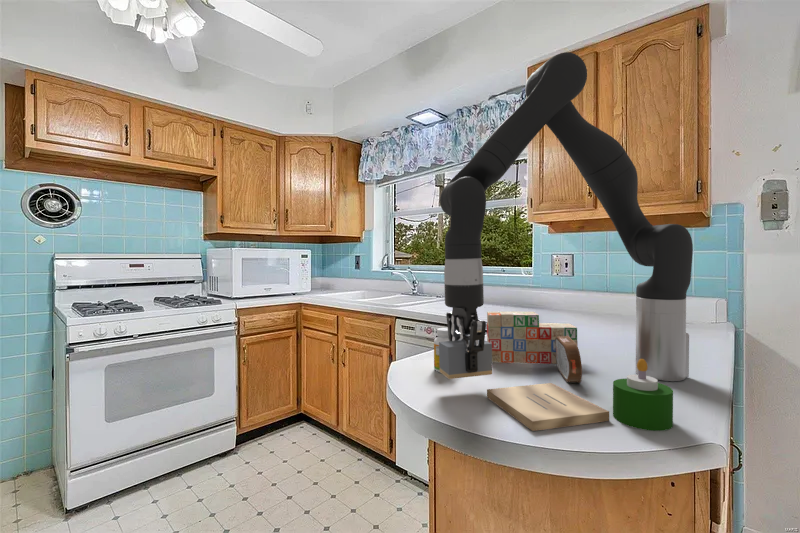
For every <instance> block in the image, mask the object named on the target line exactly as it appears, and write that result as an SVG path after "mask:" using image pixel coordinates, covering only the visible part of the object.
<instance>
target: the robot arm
mask: <svg viewBox="0 0 800 533" xmlns="http://www.w3.org/2000/svg"><path fill="white" fill-rule="evenodd" d="M587 80H588V69H587V65H586V63H585V61H584V60H583V58H581V56H579V55H578V54H576V53H573V52H571V51H570V52H568V51H567V52H565V51H564V52H560V53H557V54H555V55H554V56H552V57H551V58H549V59H548V60H546V61H545V62H544V63H543V64H542V65H540V66H539V67H538V68H537V69H536V70H534V72H532V73H531V75H529V77H528V78H527V80H526V83H525V89H524V90H525V96H526V99H524V101H523V102H522V103H521V104H519V106H518V107H517V108H516V109H515V110H514V111H513V112H512V114H510V115H509V116H508V117H507V118H506V119H505V120H504V121H503V122H502V123H501V124H500V125H499V126H498V127H497V128H496V129H495V130H494V131H493V132H492V133H491V134H490V135H489V137H488V138H487V139H486V140H485V141H484V143H483V144H482V145H481V146H480V147H479V148H478V150H477V151H476V152H475V154H474V155H473V157H472V158H471V159H470V160H469V162H468V163H467V164H466V165H465V166H464V167H463V168H462V169H461V170H459V172H457V173H456V174H455V176H454V177H453V178H452V179H450V181H449V182H448V183H447V184H446V185H445V187H444V188H443V190H442V192H441V194H440V197H439V205H440V207H441V210H442V211H443V212H444V213H445V214H446V215H447V216H450V219H449V220H450V223H449V224H450V225H449V228H448V230H447V232H446V234H445V237H444V257H445V260H444V262H445V263H444V267H443V268H444V271H443V272H444V273H443V275H444V276H443V278H444V279H443V280H444V282H443V283H444V304H445V306H447V307H448V308H451V309H452V311H449V312H446V313H445V318H446V325H447V327H446V328H448V336H449V341H457V340H462V341H463V342H464V346H465V352H466V353H465V364H466V371H467V372H468V373H472V372H477V370H478V360H477V353H478V352H479V351H483V350H484V340H485V341H486V339H485V338H486V330H487V322H486V320H480V319H479V315H478V311H477V309H478V308H481V307H483V306H484V300H485V299H484V298H485V297H484V267H483V261H482V260H483V259H482V239H481V237H482V236H481V235H482V231H483V228H484V221H485V215H486V208H487V196H486V191H487V190H488V188H490V187H491V186H492V185H494V184H496V183H497V182H498V181H500V179H502V178H503V176H504V175H505V174H506V172H508V171H509V169H510V168H511V166H512V165H513V164H514V163H515V161H516V160H517V159H518V158H519V157H520V155H521V154H522V153H523V151H524V150H525V149H526V148H527V146H528V145H530V143H531V142H532V141H533V140H534V138H535V137H536V136H537V135H538V133H540V131H541V130H542V129H543V127H545V126H546V127H547V128H548V129H549V130H550V131H551V132H552V134H553V135H554V136H555V137H556V139H557V140H558V141H559V143H560V144H561V146H562V147H563V149H564V150H565V152H566V153H567V154H568V155H569V157H570V159H571V161H573V163H574V165H575V166H576V168H577V169H578V171H579V173H580V175H581V176H582V178H583V179H584V181H585V182H586V184H587V186H588V187H589V188H590V189H591V191H592V193H593V194H594V195H595V196H596V198H597V199H598V202H599V203H600V205H601V206H602V207H603V208H604V210H605V212H606V213H607V216H608V217H609V219H610V220H611V222H612V224H613V225H614V228H615V230H616V232H617V234H618V236H619V238H620V239H621V242H622V243H623V245H624V247H625V250H626V251H627V253H628V255H629V256H630V257H631V259H632V260H633V261H634V262H635V263H637V264H638V265H640V266H644V267H650V268H651V267H653V268H652V273H651V276H650V277H649V278H648V279H646V280H645V281H643V282H640V283H637V285H636V287H635V288H636V289H635V373H636V375H638V368H637V363H638V361H639V360H640V359H644V360H645V361H646V363H647V371H646V376H650V377H653V378H655V379H657V380H658V381H666V382H680V381H684V380H686V378H689V377H690V334H689V333H688V332H687V293H688V289H689V287H690V284H691V281H692V280H691V279H692V270H693V269H692V267H693V266H692V265H693V254H694V253H693V252H694V248H693V247H694V246H693V240H692V235H691V233H690V231H689V230H688V229H687V228H686V227H685V226H684V225H681V224H679V223H668V224H667V223H666V224H657V225H653V224H651V222H650V221H649V220H648V219H647V217H646V216H645V214H644V213H643V210H642V209H641V207H640V205H639V200H638V189H639V188H638V187H639V186H638V185H639V181H638V180H639V177H638V172H637V168H636V166H635V164H634V163H633V161H632V160H631V158H630V156H629V154H628V153H627V151H626V150H625V149H624V147H623V146H622V144H621V143H620V142H619V141H618V140H617V139H616V138H615V137H613V136H612V135H610V134H608V133H607V132H606V131H603V130H601V129H600V128H598V127H596V126H595V125H593V124H592V123H590V122H589V121H588V120H586V119H585V118H584V117H583V116H582V114H580V112H579V111H578V110H577V108H576V106H575V105H574V104H573V102H572V100H574V99H575V98H576V97H577V96H579V94H580V93H581V92H582V91H583V89H584V87H586V86H585V85H586V84H587V83H586V82H587ZM478 340H479V344H478ZM468 341H469V342H468Z"/></svg>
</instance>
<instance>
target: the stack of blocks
mask: <svg viewBox="0 0 800 533" xmlns="http://www.w3.org/2000/svg"><path fill="white" fill-rule="evenodd" d="M486 318H487V319H486V320H487V322H486V338H487V340H486V341H487V342H489V343H492V363H507V364H508V363H509V364H540V365H541V364H545V365H546V364H548V365H557V362H556V346H555V338H556V337H558V336H569V337H570V338H571V339H572V340H573V341H574V342H575V343H576V344H577V346H578V347H579V344H578V327H577V326H575V325H573V324H571V323H557V322H556V323H555V322H553V323H551V322H549V323H548V322H540V315H539V314H538V313H536V311H517V310H516V311H486Z"/></svg>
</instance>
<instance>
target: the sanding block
mask: <svg viewBox="0 0 800 533" xmlns="http://www.w3.org/2000/svg"><path fill="white" fill-rule="evenodd" d="M468 342H469V341H468ZM478 344H479V340H478ZM465 353H466V352H465V346H464V342H463V341H462V340H457V341H445V342H439V363H440V372H439V373H441V374H442V375H443V376H444V377H446V378H447V379H448V380H453V379H454V380H455V379H462V378H463V379H464V378H471V377H479V376H489V375H493V362H492V343H489V342H487V340H486V339H485V340H484V350H483V351H479V352H478V353H477V360H478V370H477V372H472V373H468V372H467V371H466V364H465Z"/></svg>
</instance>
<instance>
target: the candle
mask: <svg viewBox="0 0 800 533" xmlns="http://www.w3.org/2000/svg"><path fill="white" fill-rule="evenodd" d="M637 368H638V374H628V375H627V376H626V378H617V379H615V380H614V381H613V382H612V417H613V418H614V420H616V421H618V422H619V423H621V424H623V425H625V426H628V427H631V428H633V429H639V430H644V431H653V432H657V431H658V432H661V431H662V432H664V431H668V430H670V429H672V428H674V427H673V426H674V390H673V389H672V388H671V387H670V386H668V385H666V384H663V383H661V382H659V380H657V379H655V378H653V377H650V376H646V371H647V363H646V361H645V360H644V359H640V360H639V361H638V363H637Z"/></svg>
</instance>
